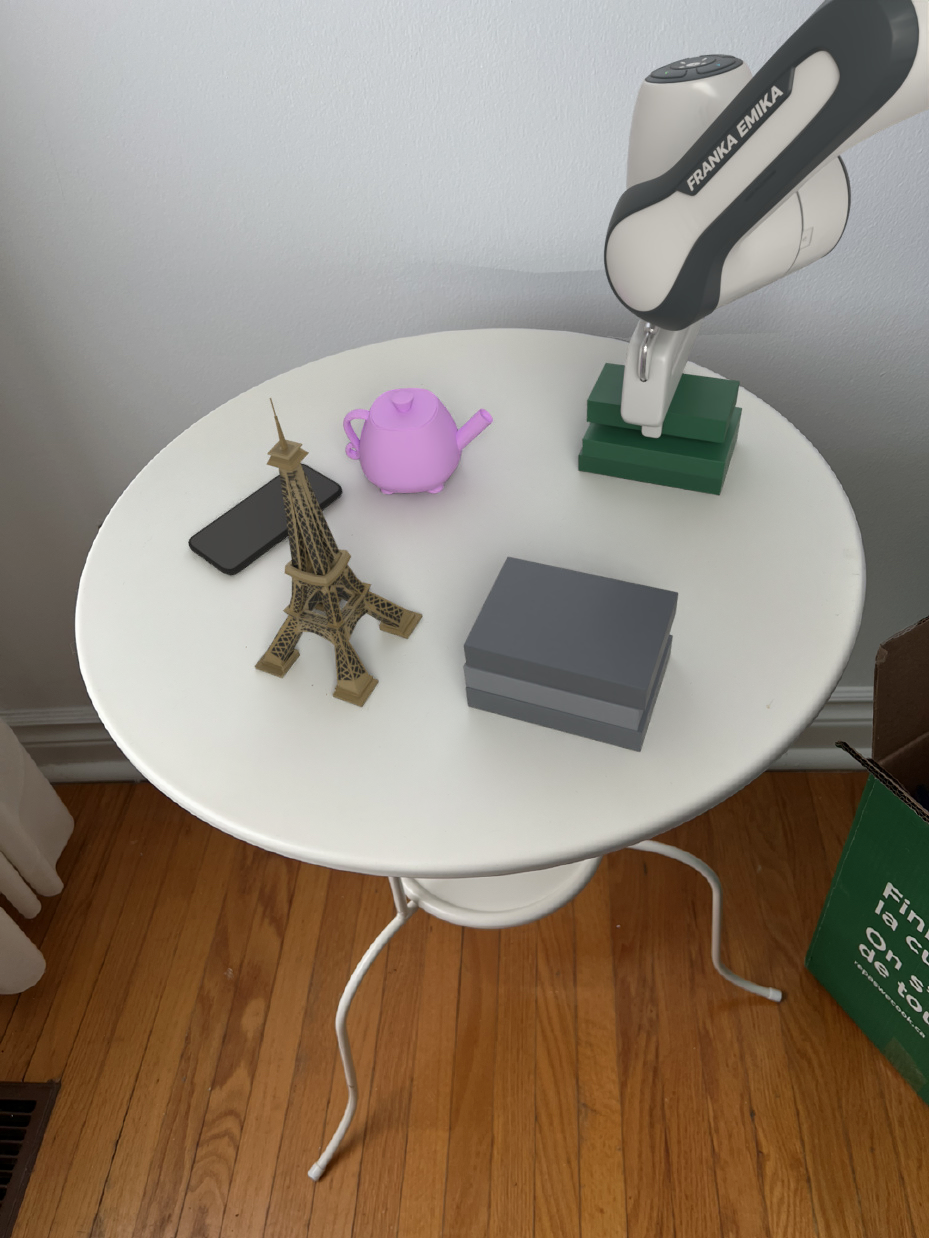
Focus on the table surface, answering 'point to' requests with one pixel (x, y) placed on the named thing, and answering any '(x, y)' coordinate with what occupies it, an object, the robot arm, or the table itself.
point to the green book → (671, 405)
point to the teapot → (410, 440)
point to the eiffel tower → (323, 585)
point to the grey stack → (570, 651)
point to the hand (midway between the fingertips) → (662, 408)
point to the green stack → (659, 457)
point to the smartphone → (255, 524)
